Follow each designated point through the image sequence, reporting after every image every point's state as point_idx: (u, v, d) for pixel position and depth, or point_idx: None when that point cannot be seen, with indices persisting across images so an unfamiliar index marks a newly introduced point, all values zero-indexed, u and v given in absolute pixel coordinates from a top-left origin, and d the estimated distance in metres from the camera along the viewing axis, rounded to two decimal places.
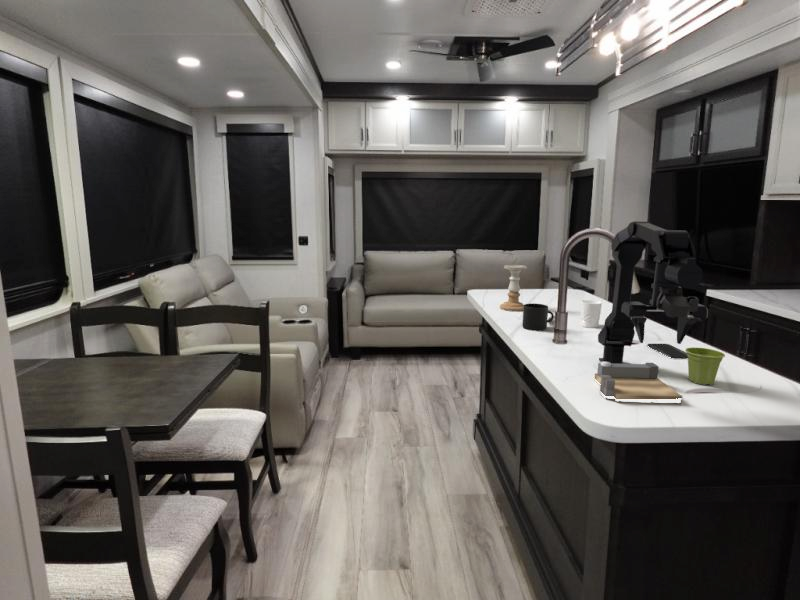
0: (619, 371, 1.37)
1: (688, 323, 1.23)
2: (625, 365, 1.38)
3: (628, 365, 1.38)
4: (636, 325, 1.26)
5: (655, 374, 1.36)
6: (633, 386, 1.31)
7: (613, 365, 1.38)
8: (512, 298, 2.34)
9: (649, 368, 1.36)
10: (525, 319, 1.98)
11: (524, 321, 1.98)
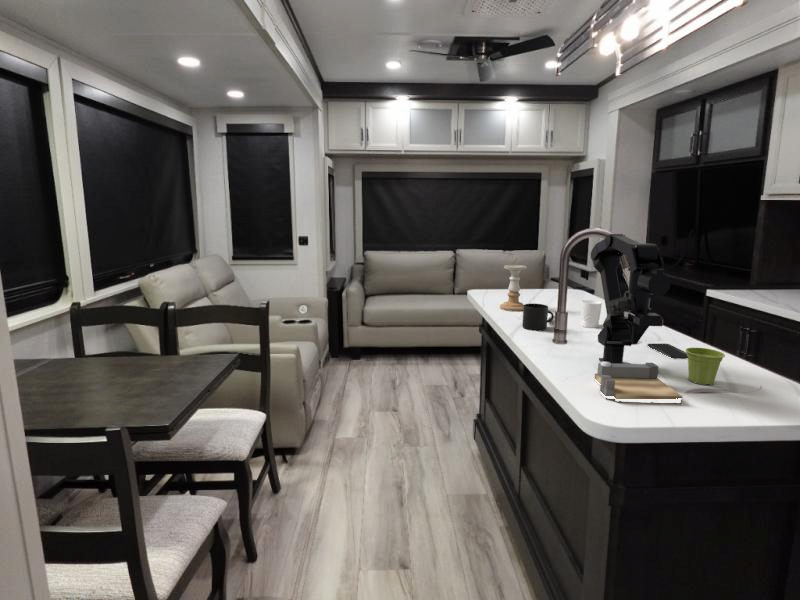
0: (619, 371, 1.37)
1: (631, 324, 1.40)
2: (625, 365, 1.38)
3: (628, 365, 1.38)
4: None
5: (655, 374, 1.36)
6: (633, 386, 1.31)
7: (613, 365, 1.38)
8: (512, 298, 2.34)
9: (649, 368, 1.36)
10: (525, 319, 1.98)
11: (524, 321, 1.98)
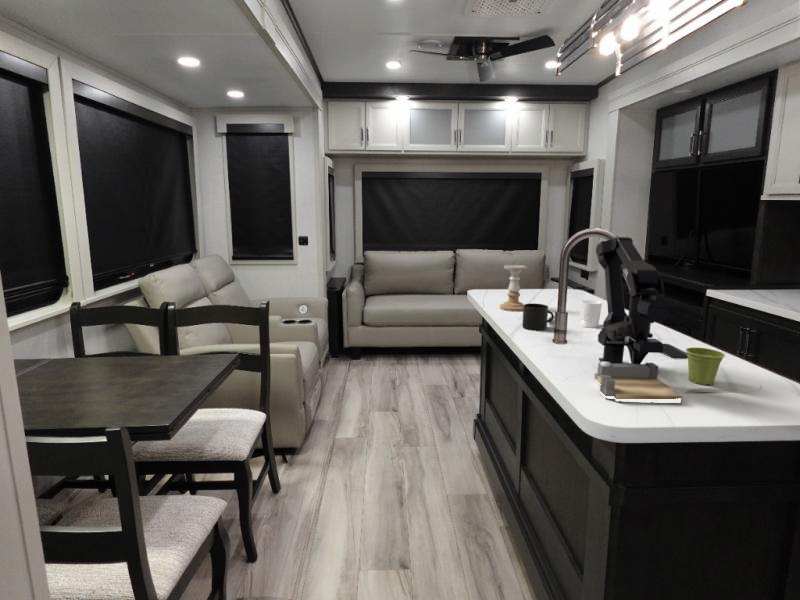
0: (619, 371, 1.37)
1: (631, 349, 1.39)
2: (625, 365, 1.38)
3: (628, 365, 1.38)
4: None
5: (655, 374, 1.36)
6: (633, 386, 1.31)
7: (613, 365, 1.38)
8: (512, 298, 2.34)
9: (649, 368, 1.36)
10: (525, 319, 1.98)
11: (524, 321, 1.98)
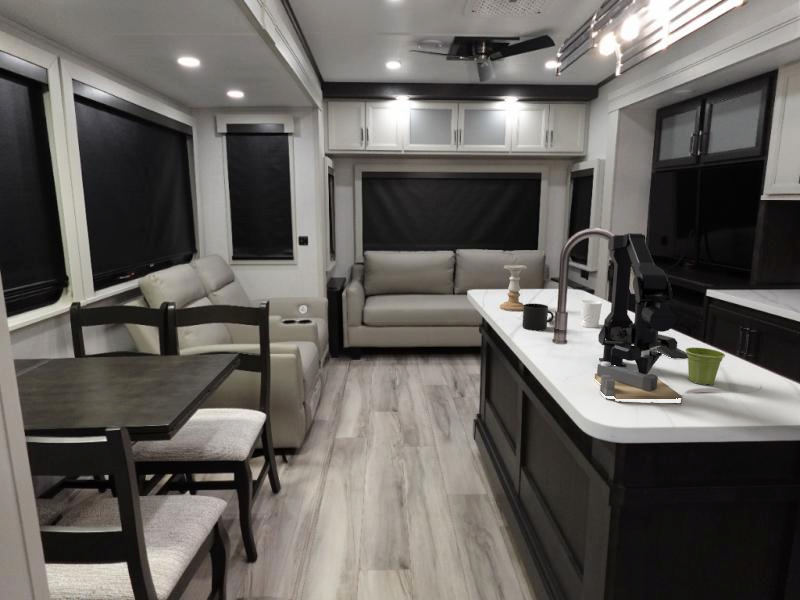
0: (613, 373, 1.35)
1: None
2: (623, 370, 1.34)
3: (627, 371, 1.33)
4: None
5: (647, 386, 1.27)
6: (633, 386, 1.31)
7: (611, 367, 1.36)
8: (512, 298, 2.34)
9: (642, 378, 1.28)
10: (525, 319, 1.98)
11: (524, 321, 1.98)
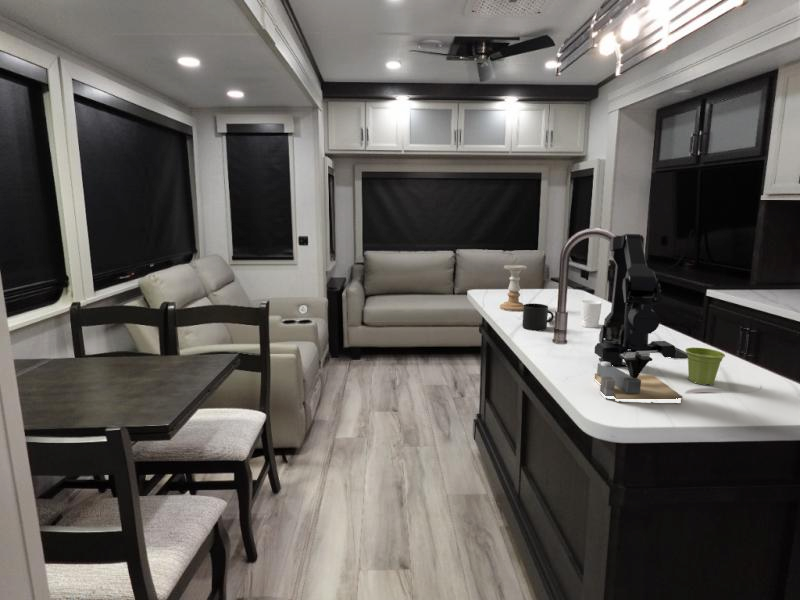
0: (606, 373, 1.35)
1: None
2: (616, 371, 1.33)
3: (618, 372, 1.32)
4: None
5: (626, 388, 1.26)
6: None
7: (608, 367, 1.36)
8: (512, 298, 2.34)
9: (624, 380, 1.27)
10: (525, 319, 1.98)
11: (524, 321, 1.98)
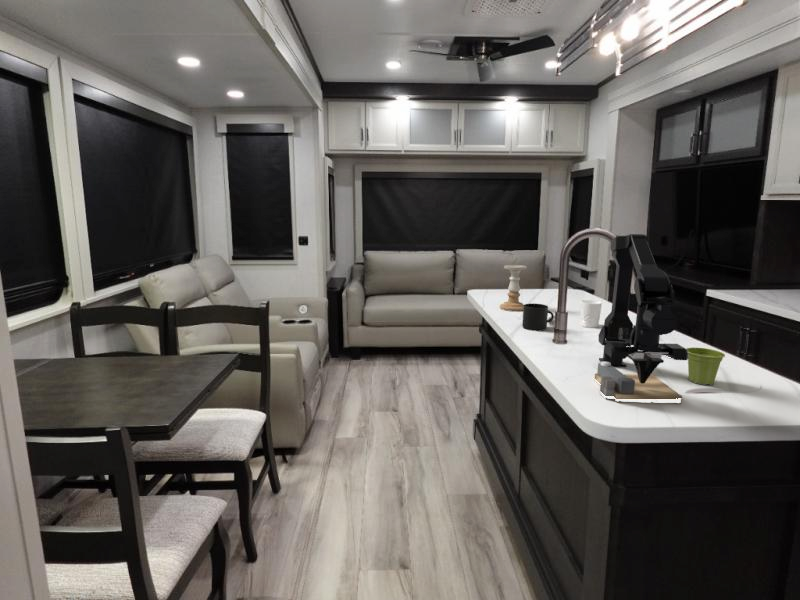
0: (604, 373, 1.35)
1: None
2: (613, 371, 1.33)
3: (615, 372, 1.32)
4: None
5: (619, 388, 1.26)
6: None
7: (607, 367, 1.36)
8: (512, 298, 2.34)
9: (618, 380, 1.27)
10: (525, 319, 1.98)
11: (524, 321, 1.98)
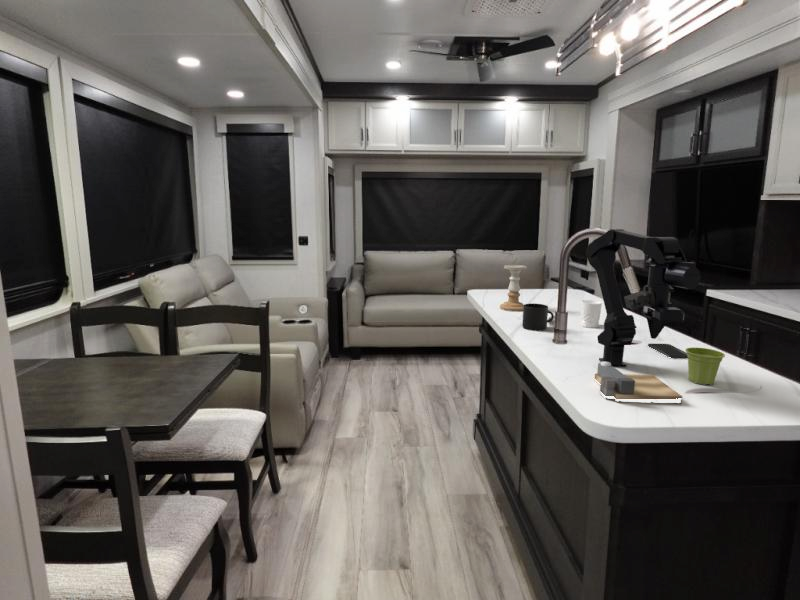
0: (604, 373, 1.35)
1: (650, 319, 1.38)
2: (613, 371, 1.33)
3: (615, 372, 1.32)
4: None
5: (619, 388, 1.26)
6: None
7: (607, 367, 1.36)
8: (512, 298, 2.34)
9: (618, 380, 1.27)
10: (525, 319, 1.98)
11: (524, 321, 1.98)
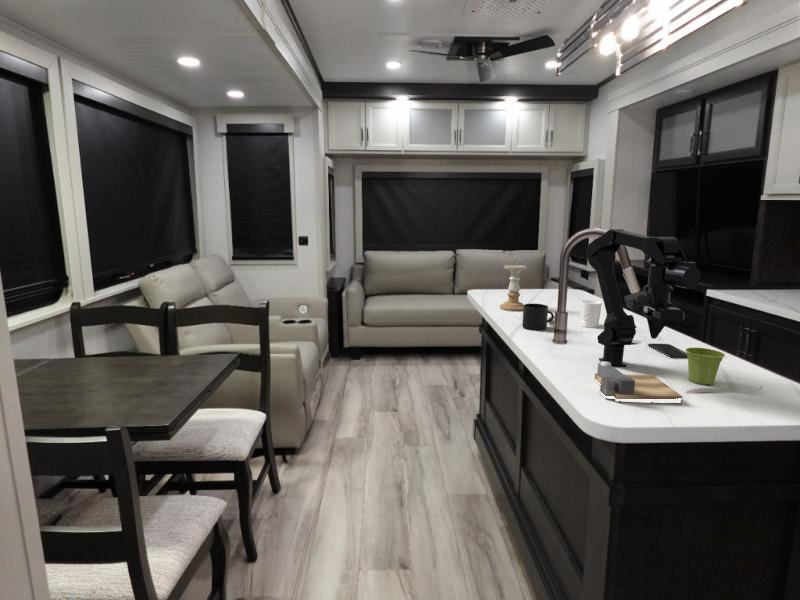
0: (604, 373, 1.35)
1: (650, 319, 1.38)
2: (613, 371, 1.33)
3: (615, 372, 1.32)
4: None
5: (619, 388, 1.26)
6: None
7: (607, 367, 1.36)
8: (512, 298, 2.34)
9: (618, 380, 1.27)
10: (525, 319, 1.98)
11: (524, 321, 1.98)
